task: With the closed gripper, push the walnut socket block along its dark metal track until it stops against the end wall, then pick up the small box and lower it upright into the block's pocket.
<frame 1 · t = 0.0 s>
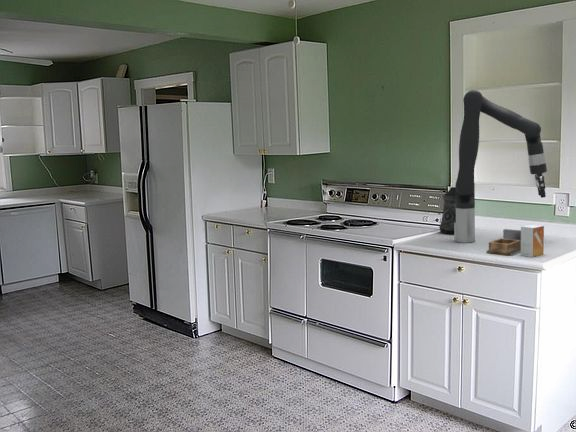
hand: (542, 196, 286), 22 cm above the worktop, tool pointing down, fingers open, 8 cm apart
backstop track: (518, 247, 279), on the worktop
beer stein: (457, 233, 324), on the worktop
socket block: (505, 246, 269), point 3 cm above the worktop, slide at 0.0 cm
small box: (532, 255, 261), on the worktop
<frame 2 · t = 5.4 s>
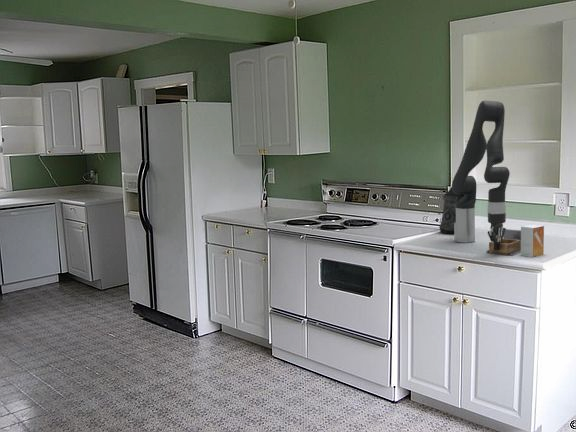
hand: (496, 250, 263), 2 cm above the worktop, tool pointing down, fingers closed
socket block: (505, 246, 269), point 3 cm above the worktop, slide at 0.3 cm, touching gripper
everything else where it was.
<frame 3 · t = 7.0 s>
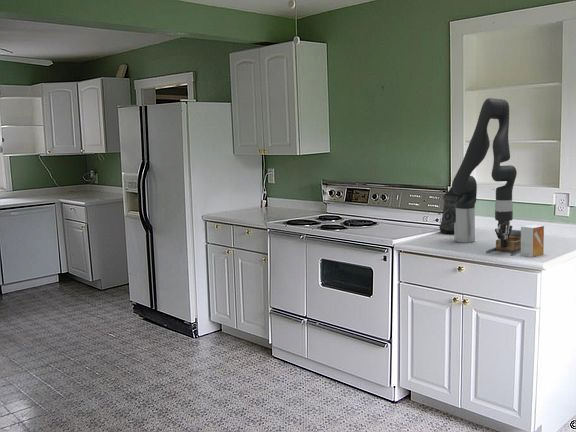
hand: (503, 247, 268), 2 cm above the worktop, tool pointing down, fingers closed
socket block: (511, 244, 274), point 3 cm above the worktop, slide at 7.1 cm, touching backstop track, gripper
everything else where it was.
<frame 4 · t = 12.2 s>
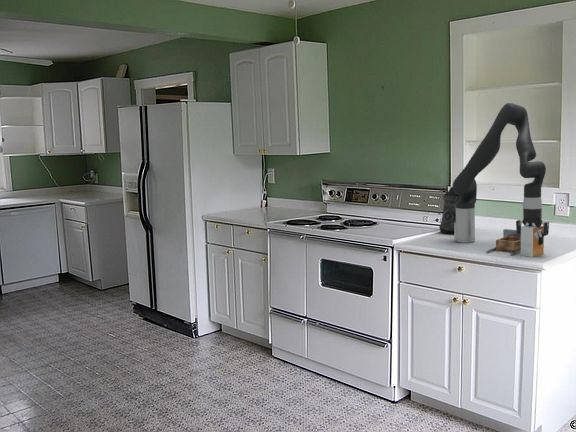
hand: (532, 244, 261), 5 cm above the worktop, tool pointing down, fingers closed on small box, 7 cm apart
socket block: (511, 244, 274), point 3 cm above the worktop, slide at 7.0 cm
small box: (532, 255, 261), on the worktop, touching gripper
everything else where it was.
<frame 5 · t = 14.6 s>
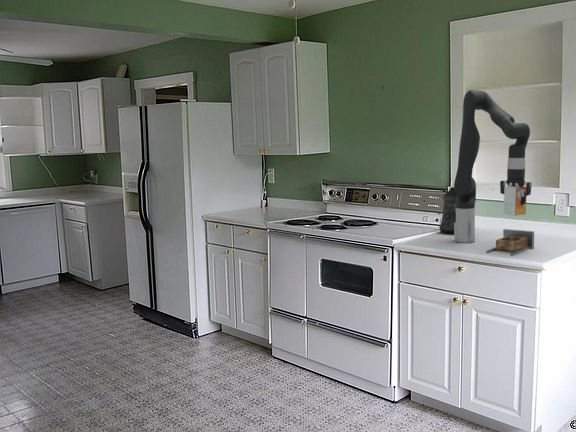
hand: (514, 203, 268), 22 cm above the worktop, tool pointing down, fingers closed on small box, 7 cm apart
small box: (514, 214, 269), point 17 cm above the worktop, touching gripper
everything else where it was.
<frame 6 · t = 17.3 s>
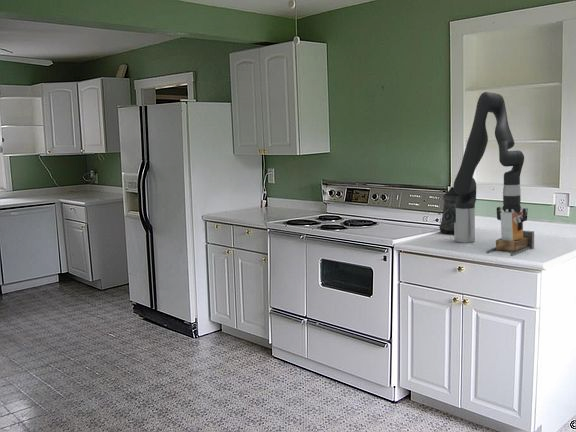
hand: (511, 229, 273), 9 cm above the worktop, tool pointing down, fingers closed on small box, 7 cm apart
socket block: (511, 244, 274), point 3 cm above the worktop, slide at 7.1 cm, touching backstop track, small box
small box: (512, 239, 273), point 5 cm above the worktop, touching gripper, socket block
everything else where it was.
when the fingers open (7 cm above the worktop, at t = 18.6 s): small box drops 3 cm, resting on socket block.
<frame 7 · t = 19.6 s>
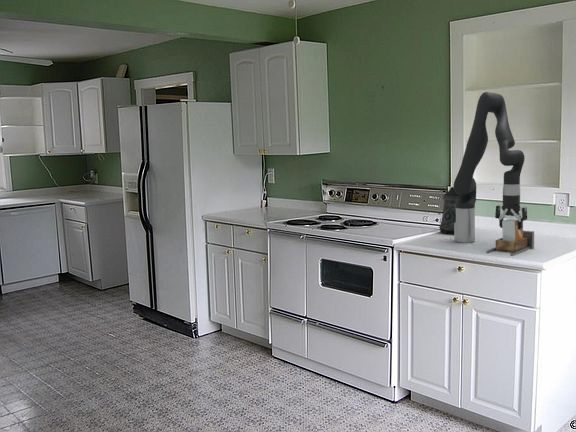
hand: (510, 228, 272), 10 cm above the worktop, tool pointing down, fingers open, 8 cm apart
socket block: (511, 244, 273), point 3 cm above the worktop, slide at 6.7 cm, touching small box
small box: (513, 247, 273), point 1 cm above the worktop, touching socket block
everything else where it was.
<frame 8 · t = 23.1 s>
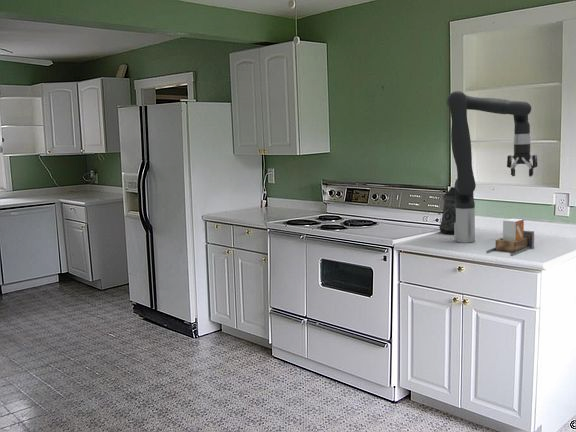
hand: (521, 176, 290), 32 cm above the worktop, tool pointing down, fingers open, 8 cm apart
nothing on the worktop moved.
at the end: socket block slide at 6.7 cm; small box 0.6 cm from the target spot, point 0.9 cm above the worktop; small box tilted 0° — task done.
